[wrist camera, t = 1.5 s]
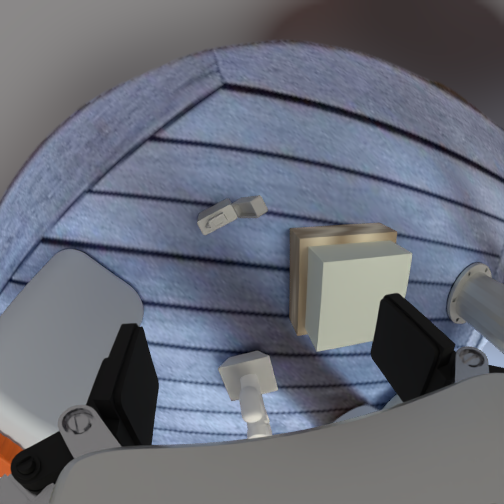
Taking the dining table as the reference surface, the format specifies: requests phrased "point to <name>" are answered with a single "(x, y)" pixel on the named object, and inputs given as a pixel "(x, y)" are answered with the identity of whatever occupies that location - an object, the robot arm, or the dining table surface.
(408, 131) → the dining table surface
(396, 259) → the sage top block
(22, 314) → the plastic bottle
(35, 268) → the dining table surface
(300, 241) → the birch base block
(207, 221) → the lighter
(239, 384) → the figurine
